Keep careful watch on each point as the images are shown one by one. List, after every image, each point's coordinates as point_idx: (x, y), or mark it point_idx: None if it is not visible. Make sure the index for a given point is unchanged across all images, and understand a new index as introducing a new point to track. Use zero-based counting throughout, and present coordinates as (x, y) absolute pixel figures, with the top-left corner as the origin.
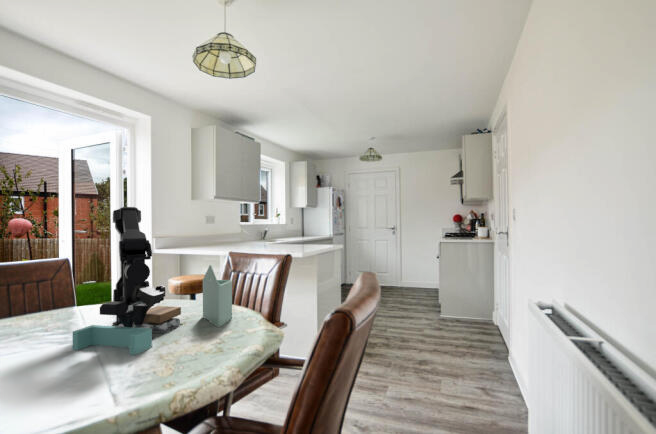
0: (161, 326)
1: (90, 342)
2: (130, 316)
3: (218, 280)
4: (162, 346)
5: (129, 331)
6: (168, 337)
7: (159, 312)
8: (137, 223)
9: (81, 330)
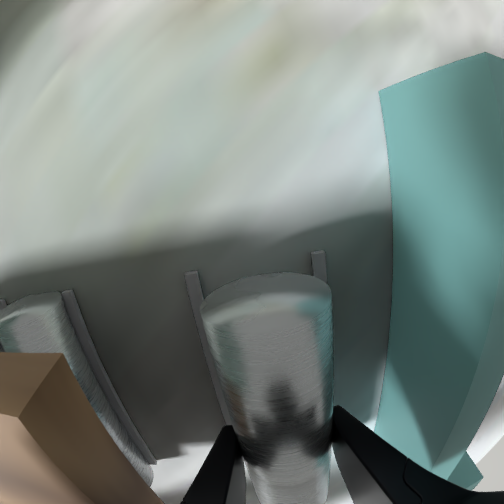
0: (57, 344)
1: None
2: (458, 500)
3: None
4: (338, 19)
5: None
6: (135, 143)
7: (7, 461)
8: None
9: (468, 487)
